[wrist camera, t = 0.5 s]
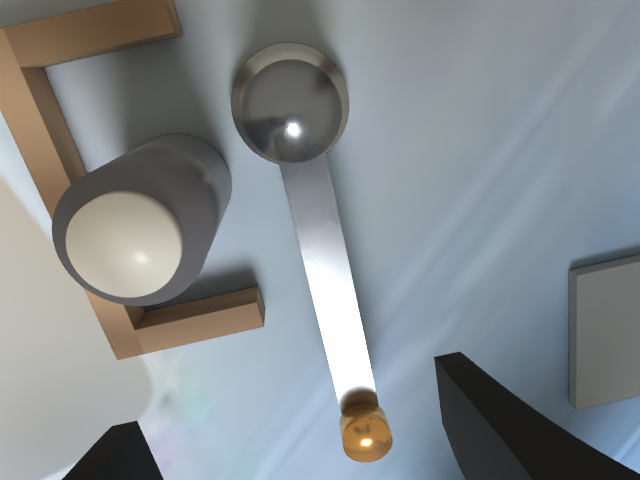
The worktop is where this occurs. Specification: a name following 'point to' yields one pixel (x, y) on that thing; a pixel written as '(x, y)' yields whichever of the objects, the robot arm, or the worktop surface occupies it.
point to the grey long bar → (319, 232)
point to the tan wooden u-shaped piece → (66, 167)
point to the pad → (604, 332)
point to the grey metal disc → (277, 54)
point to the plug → (143, 220)
